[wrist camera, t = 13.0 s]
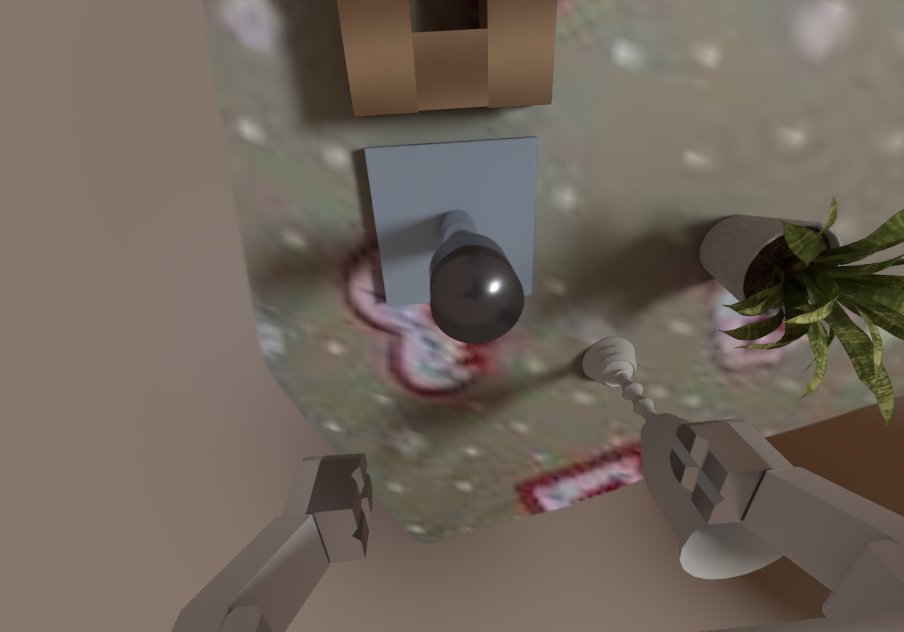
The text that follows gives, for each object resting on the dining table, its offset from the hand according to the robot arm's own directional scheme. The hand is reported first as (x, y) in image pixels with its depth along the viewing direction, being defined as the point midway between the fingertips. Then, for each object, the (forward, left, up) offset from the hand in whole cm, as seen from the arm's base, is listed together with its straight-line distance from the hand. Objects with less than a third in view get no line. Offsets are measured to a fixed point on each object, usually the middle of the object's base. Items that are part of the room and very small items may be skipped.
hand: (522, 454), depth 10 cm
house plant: (+2, +23, -23) cm, 33 cm away
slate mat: (0, 0, -23) cm, 23 cm away
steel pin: (0, 0, -22) cm, 22 cm away
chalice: (+14, +14, -23) cm, 31 cm away
